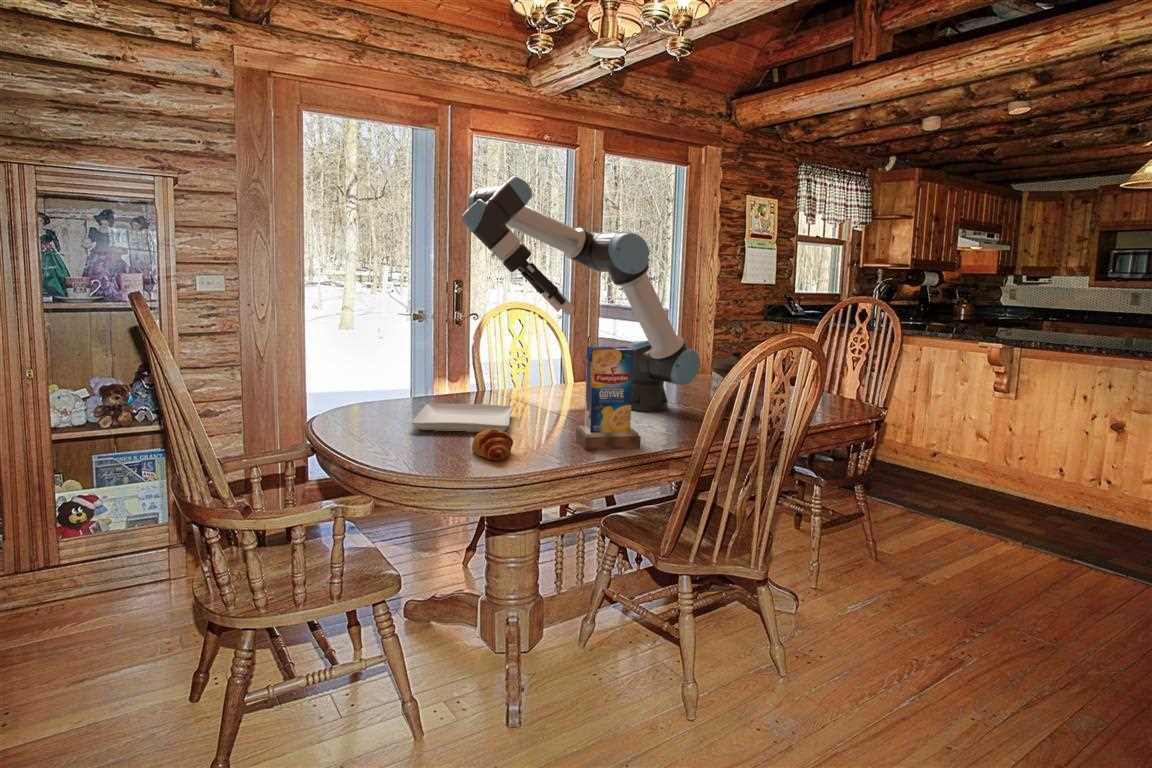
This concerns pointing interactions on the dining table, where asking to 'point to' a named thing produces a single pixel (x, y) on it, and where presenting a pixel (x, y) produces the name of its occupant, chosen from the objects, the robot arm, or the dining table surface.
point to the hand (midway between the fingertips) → (566, 310)
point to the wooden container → (719, 372)
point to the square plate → (463, 417)
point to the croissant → (492, 444)
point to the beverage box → (608, 389)
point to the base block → (607, 439)
